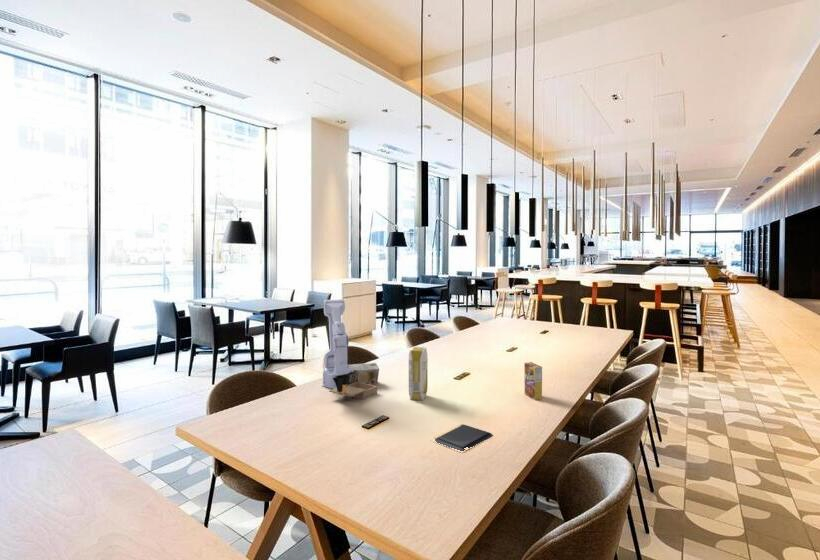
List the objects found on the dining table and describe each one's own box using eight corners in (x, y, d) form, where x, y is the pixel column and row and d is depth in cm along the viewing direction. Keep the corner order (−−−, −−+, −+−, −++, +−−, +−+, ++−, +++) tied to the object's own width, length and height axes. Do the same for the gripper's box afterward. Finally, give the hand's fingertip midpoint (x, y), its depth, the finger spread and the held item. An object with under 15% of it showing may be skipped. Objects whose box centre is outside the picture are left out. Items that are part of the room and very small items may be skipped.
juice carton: (424, 401, 200) (424, 348, 198) (407, 400, 201) (407, 348, 200) (428, 394, 209) (428, 344, 207) (411, 393, 210) (411, 343, 209)
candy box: (523, 394, 209) (523, 362, 208) (531, 393, 210) (531, 361, 209) (534, 400, 200) (534, 367, 199) (542, 399, 202) (542, 366, 201)
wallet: (461, 449, 149) (428, 436, 159) (461, 455, 149) (428, 441, 159) (495, 431, 163) (462, 421, 173) (495, 437, 163) (462, 425, 174)
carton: (342, 394, 210) (342, 386, 210) (356, 388, 218) (356, 381, 218) (363, 399, 203) (363, 391, 202) (377, 393, 211) (377, 386, 211)
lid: (329, 391, 203) (328, 383, 202) (344, 385, 211) (344, 377, 211) (351, 396, 195) (351, 388, 195) (366, 390, 204) (366, 382, 203)
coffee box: (377, 384, 226) (346, 386, 220) (374, 377, 232) (344, 379, 226) (379, 368, 223) (348, 371, 217) (376, 361, 229) (345, 364, 223)
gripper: (336, 366, 190) (336, 397, 191) (358, 359, 202) (358, 388, 203) (324, 363, 194) (324, 394, 195) (346, 357, 206) (347, 385, 207)
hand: (341, 391), depth 200 cm, fingers closed on lid
